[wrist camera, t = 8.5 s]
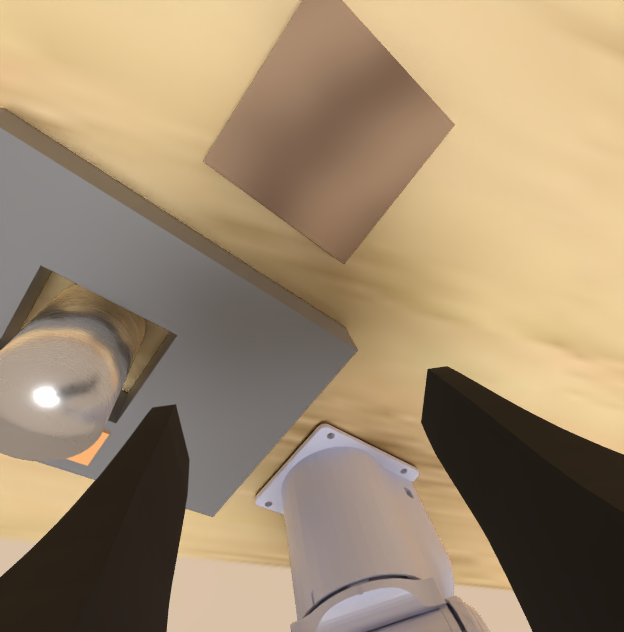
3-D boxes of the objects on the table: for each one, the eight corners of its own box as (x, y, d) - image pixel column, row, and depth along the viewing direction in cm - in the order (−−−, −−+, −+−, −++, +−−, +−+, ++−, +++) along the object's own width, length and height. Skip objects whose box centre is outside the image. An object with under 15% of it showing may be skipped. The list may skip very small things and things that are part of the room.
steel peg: (163, 315, 20) (130, 401, 14) (115, 373, 21) (65, 477, 15) (80, 264, 18) (-1, 336, 12) (32, 329, 19) (-65, 428, 13)
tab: (444, 124, 18) (454, 124, 17) (339, 258, 20) (343, 264, 19) (314, -17, 15) (318, -25, 14) (204, 159, 17) (202, 161, 16)
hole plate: (345, 327, 22) (359, 352, 20) (214, 483, 26) (212, 520, 23) (4, 108, 15) (-40, 105, 13) (-113, 366, 18) (-164, 402, 16)
